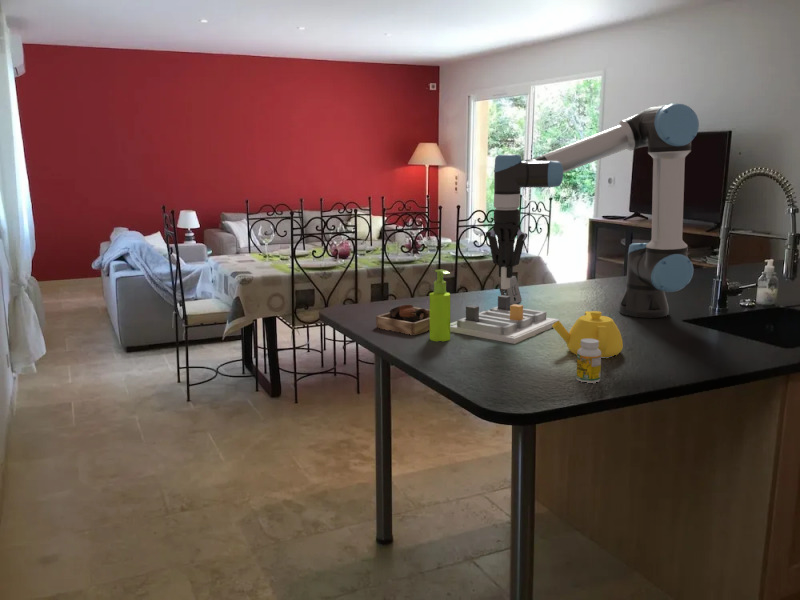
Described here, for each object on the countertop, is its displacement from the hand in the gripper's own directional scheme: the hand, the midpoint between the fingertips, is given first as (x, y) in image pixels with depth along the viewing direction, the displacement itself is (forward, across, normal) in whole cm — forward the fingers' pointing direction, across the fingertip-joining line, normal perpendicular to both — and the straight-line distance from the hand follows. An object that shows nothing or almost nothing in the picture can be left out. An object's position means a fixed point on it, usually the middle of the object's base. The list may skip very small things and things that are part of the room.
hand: (505, 288), depth 206 cm
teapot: (+13, -30, +9) cm, 34 cm away
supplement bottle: (+12, -40, +30) cm, 52 cm away
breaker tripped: (+11, -4, 0) cm, 11 cm away
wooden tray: (+12, +24, +15) cm, 31 cm away
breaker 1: (+10, +6, +9) cm, 15 cm away
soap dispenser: (+12, +8, +22) cm, 26 cm away
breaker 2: (+11, +6, -9) cm, 15 cm away
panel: (+12, +1, 0) cm, 12 cm away
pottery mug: (+12, +23, +18) cm, 31 cm away
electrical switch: (+12, +16, -30) cm, 36 cm away
